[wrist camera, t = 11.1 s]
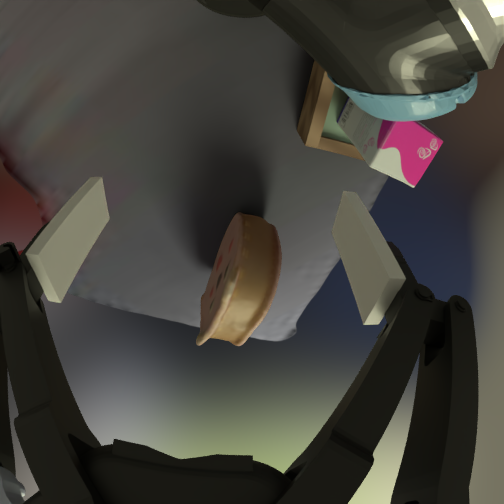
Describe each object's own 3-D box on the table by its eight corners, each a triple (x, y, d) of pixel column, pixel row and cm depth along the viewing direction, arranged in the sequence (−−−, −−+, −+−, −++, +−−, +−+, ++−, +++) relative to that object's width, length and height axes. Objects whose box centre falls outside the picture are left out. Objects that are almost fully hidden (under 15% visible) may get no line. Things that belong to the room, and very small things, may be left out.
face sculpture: (236, 193, 43) (231, 269, 30) (278, 207, 45) (290, 285, 32) (202, 280, 55) (191, 355, 42) (236, 289, 57) (233, 364, 44)
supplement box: (375, 141, 31) (413, 191, 23) (335, 122, 30) (365, 167, 22) (396, 103, 27) (445, 142, 19) (355, 81, 26) (397, 110, 18)
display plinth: (316, 50, 29) (330, 50, 24) (395, 78, 31) (420, 86, 25) (296, 130, 37) (305, 145, 31) (372, 150, 38) (391, 168, 33)
